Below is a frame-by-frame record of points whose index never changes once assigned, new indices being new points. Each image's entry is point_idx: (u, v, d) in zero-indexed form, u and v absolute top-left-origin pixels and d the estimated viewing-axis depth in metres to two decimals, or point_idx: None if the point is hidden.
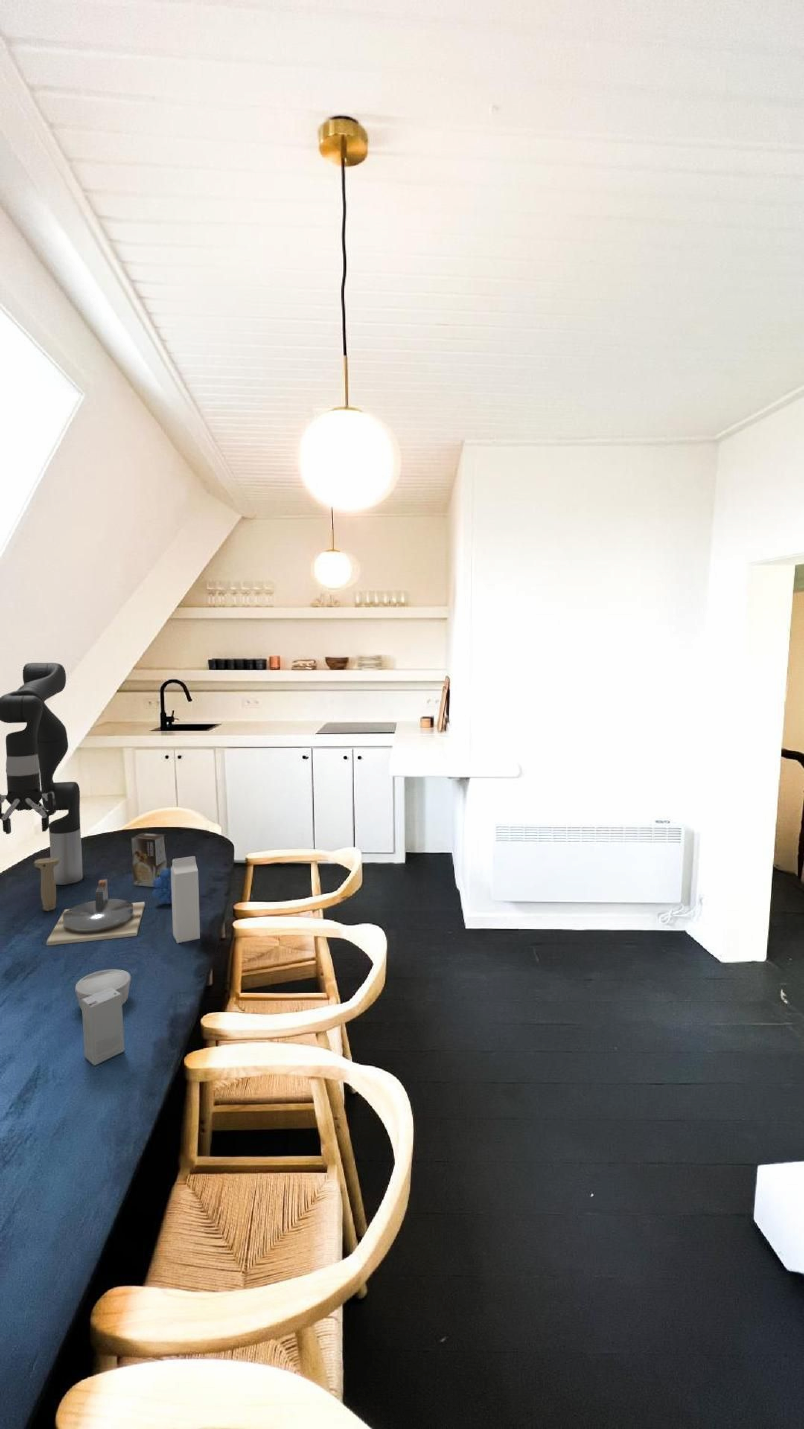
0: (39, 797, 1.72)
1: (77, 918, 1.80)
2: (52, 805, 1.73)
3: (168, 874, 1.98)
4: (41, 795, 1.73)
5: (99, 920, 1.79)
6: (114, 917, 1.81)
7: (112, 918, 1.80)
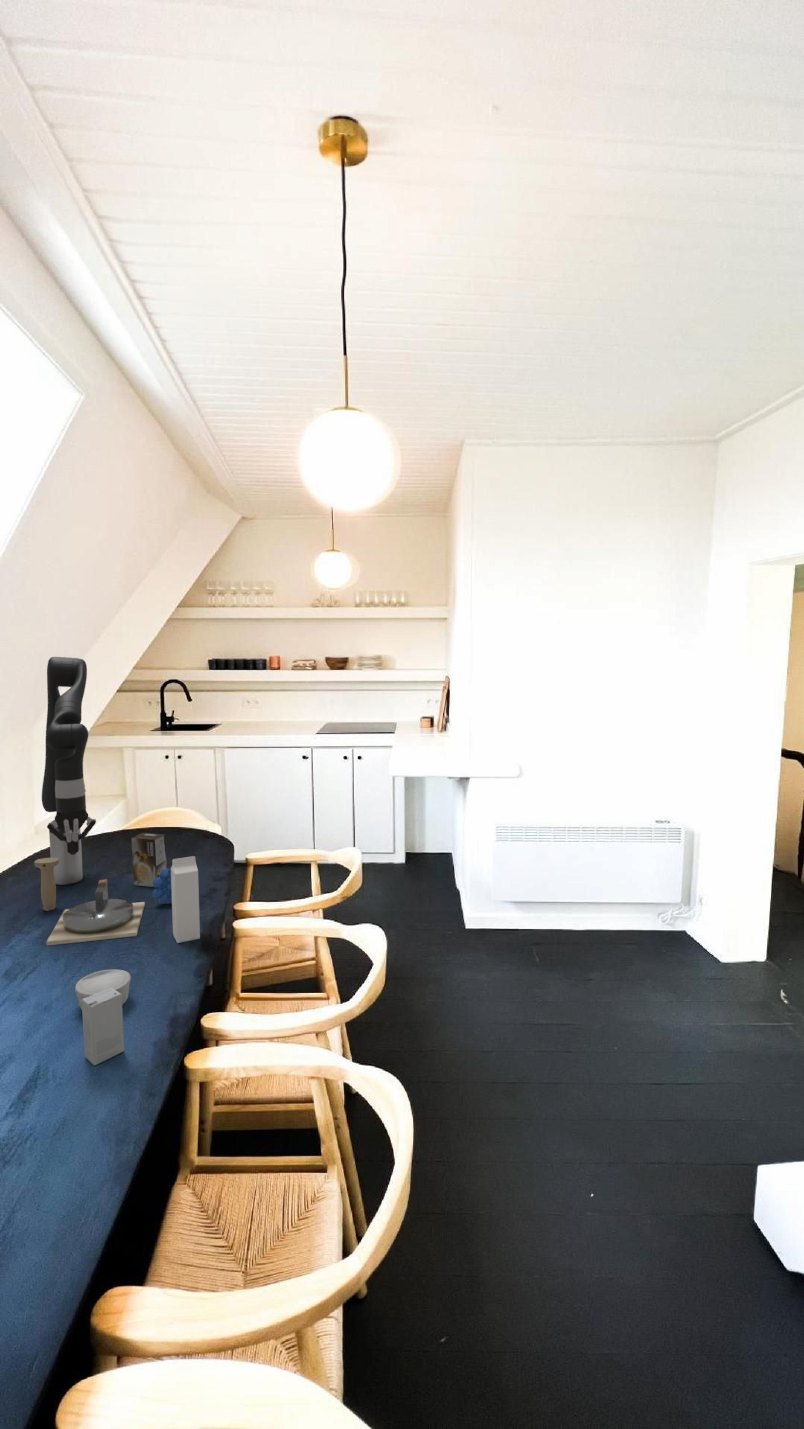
0: None
1: (77, 918, 1.80)
2: None
3: (168, 874, 1.98)
4: None
5: (99, 920, 1.79)
6: (114, 917, 1.81)
7: (112, 918, 1.80)
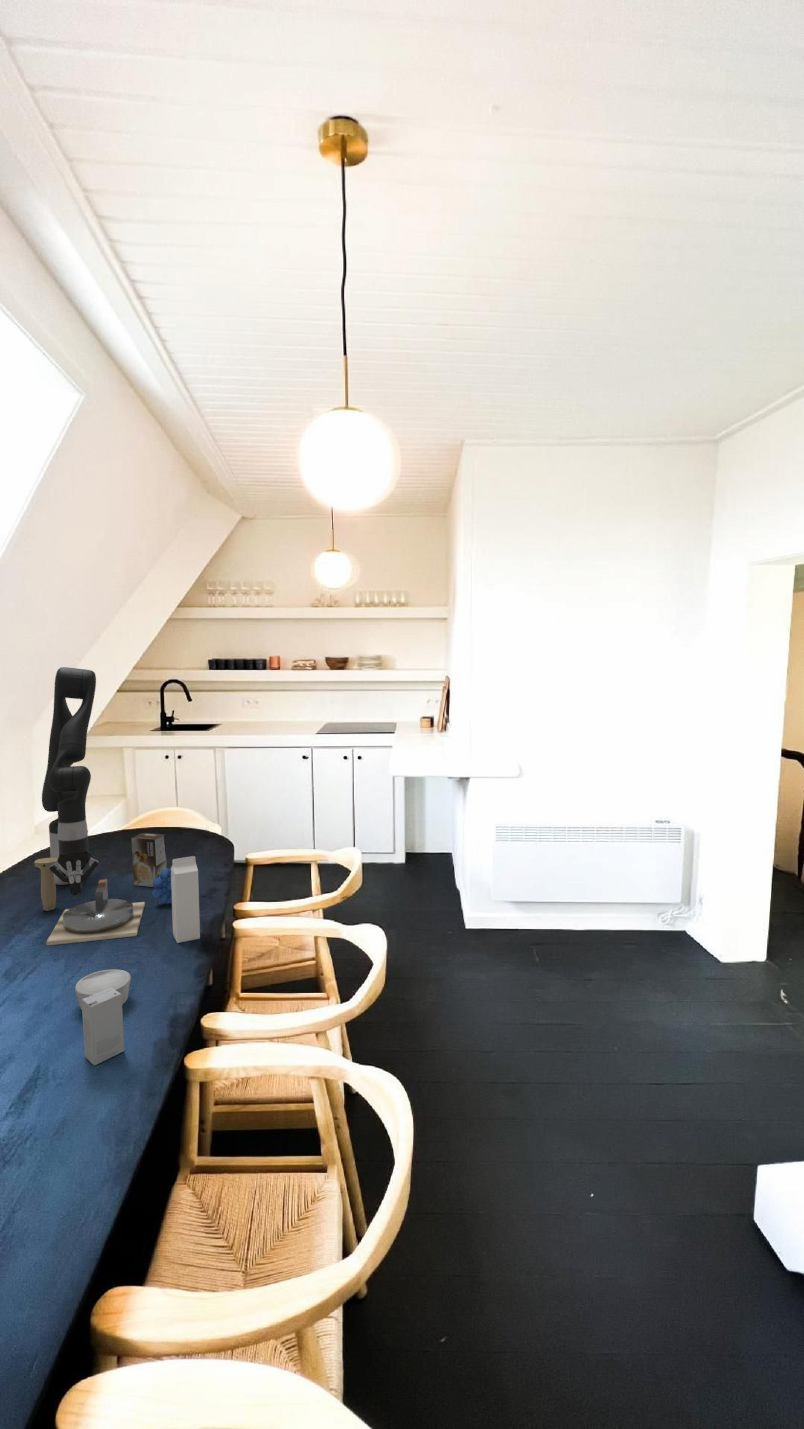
0: None
1: (77, 918, 1.80)
2: None
3: (168, 874, 1.98)
4: None
5: (99, 920, 1.79)
6: (114, 917, 1.81)
7: (112, 918, 1.80)
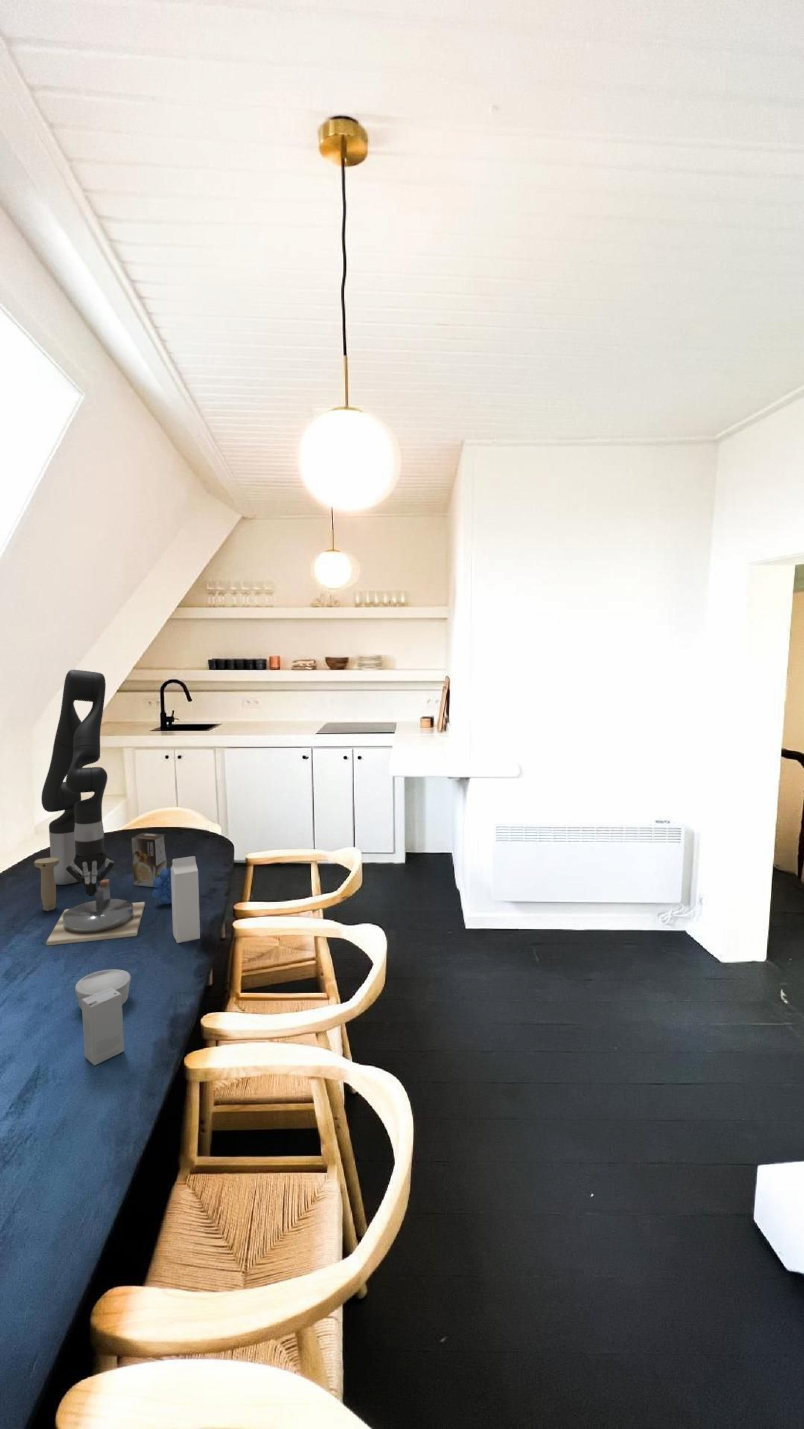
0: None
1: (76, 918, 1.80)
2: None
3: (168, 874, 1.98)
4: None
5: (98, 920, 1.79)
6: (112, 918, 1.80)
7: (110, 919, 1.80)
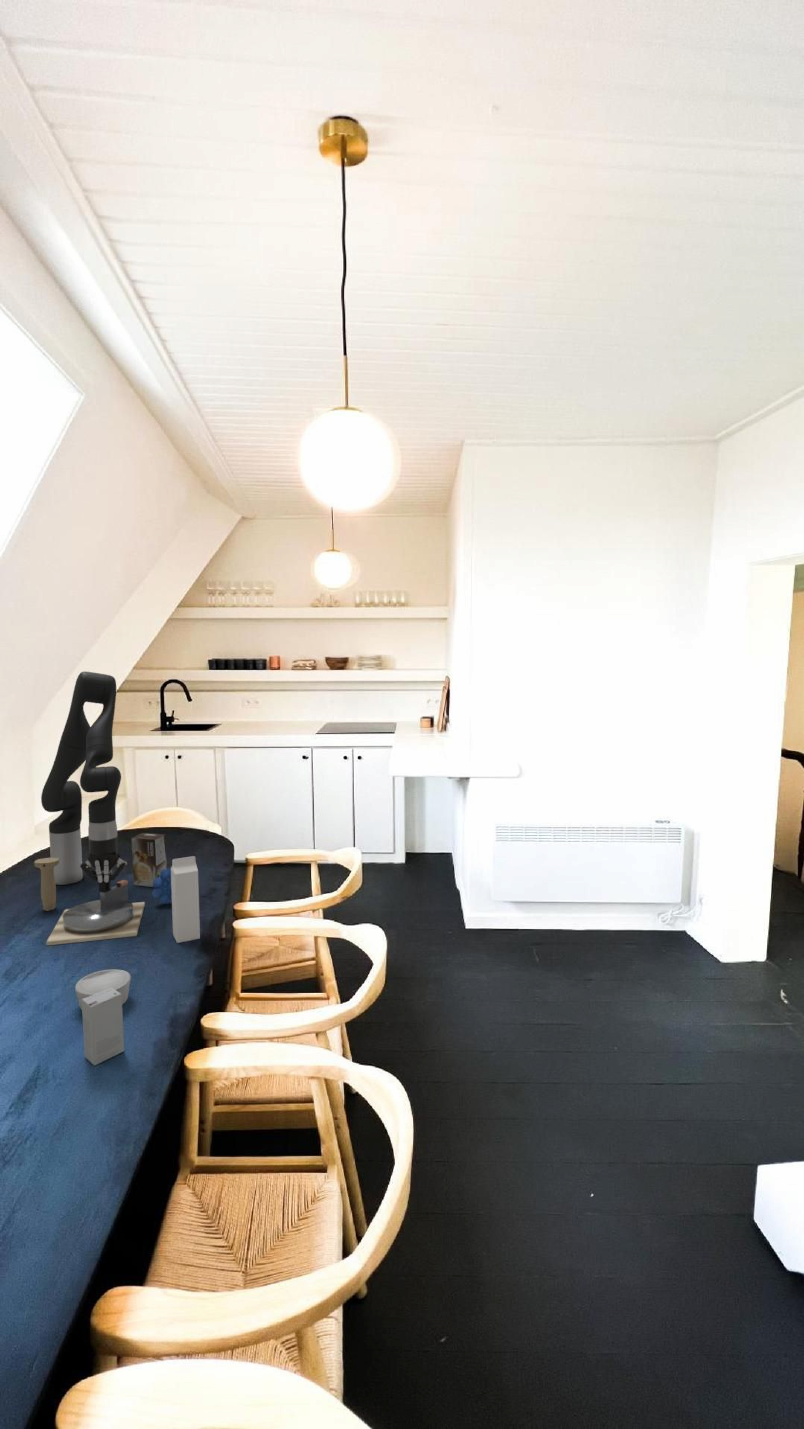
0: None
1: (75, 913, 1.84)
2: None
3: (168, 874, 1.98)
4: None
5: (80, 921, 1.78)
6: (93, 922, 1.78)
7: (90, 922, 1.77)
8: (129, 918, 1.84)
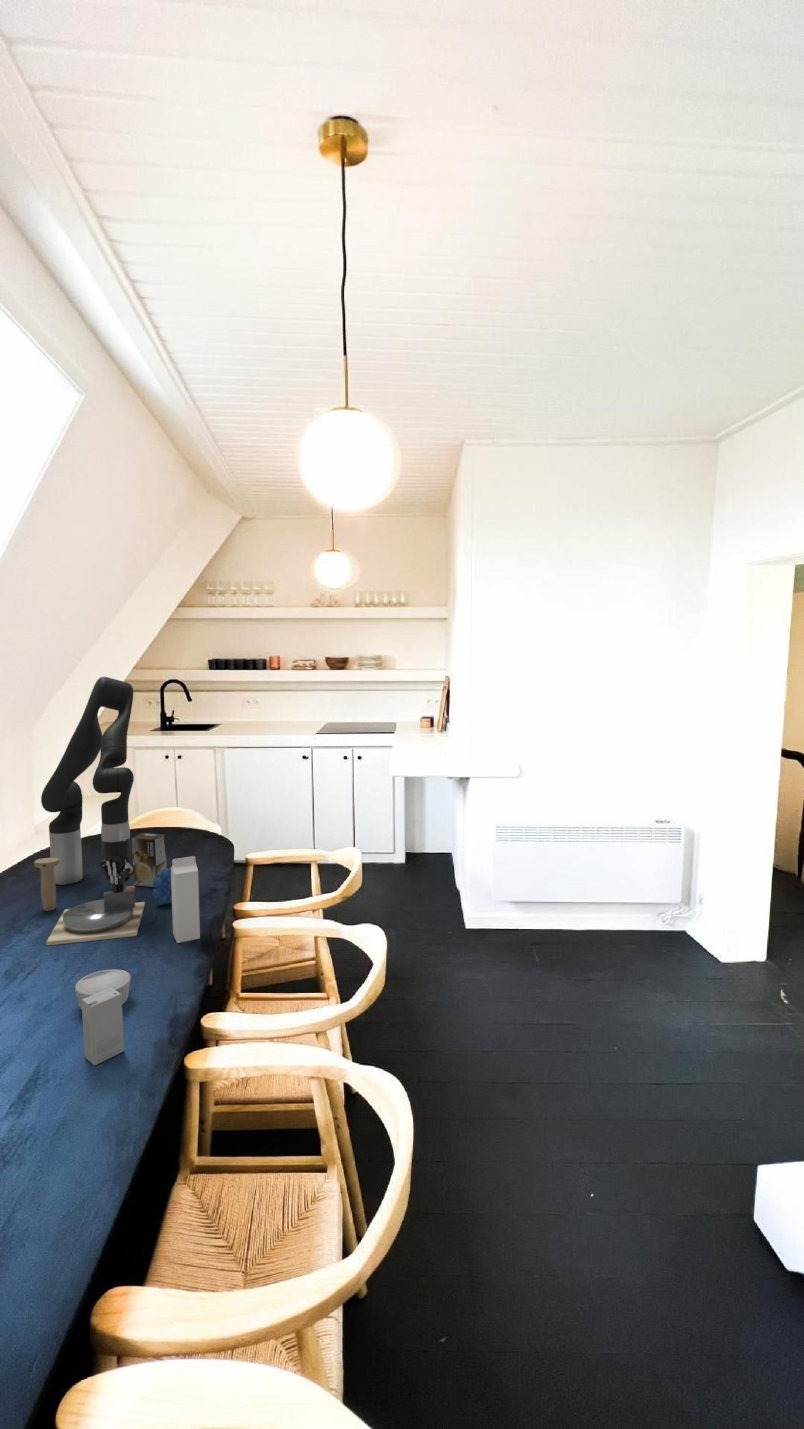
0: None
1: (84, 906, 1.88)
2: None
3: (168, 874, 1.98)
4: None
5: (71, 916, 1.81)
6: (74, 921, 1.78)
7: (71, 920, 1.78)
8: (110, 927, 1.79)
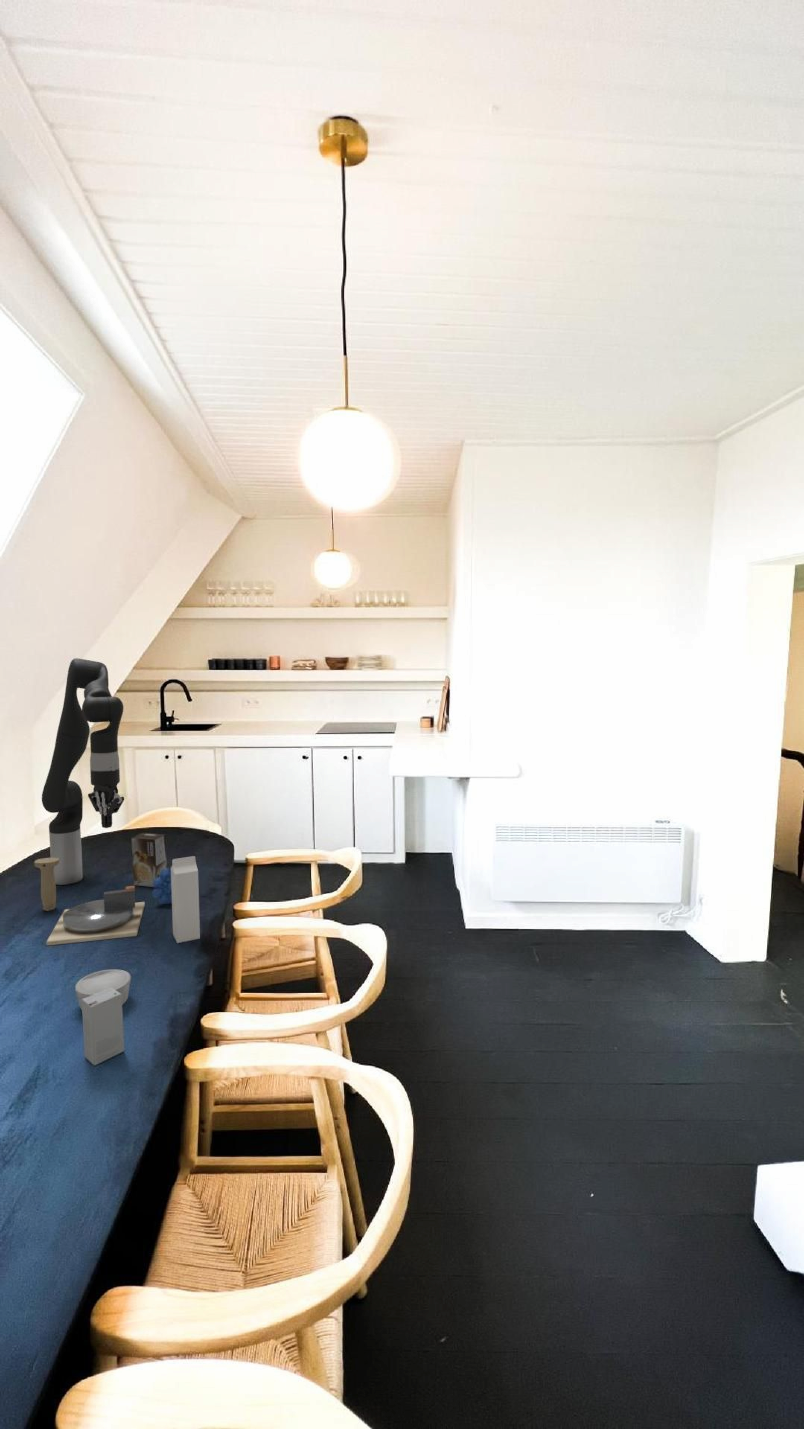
0: None
1: (84, 906, 1.88)
2: None
3: (168, 874, 1.98)
4: None
5: (71, 916, 1.81)
6: (74, 921, 1.78)
7: (71, 920, 1.78)
8: (110, 927, 1.79)
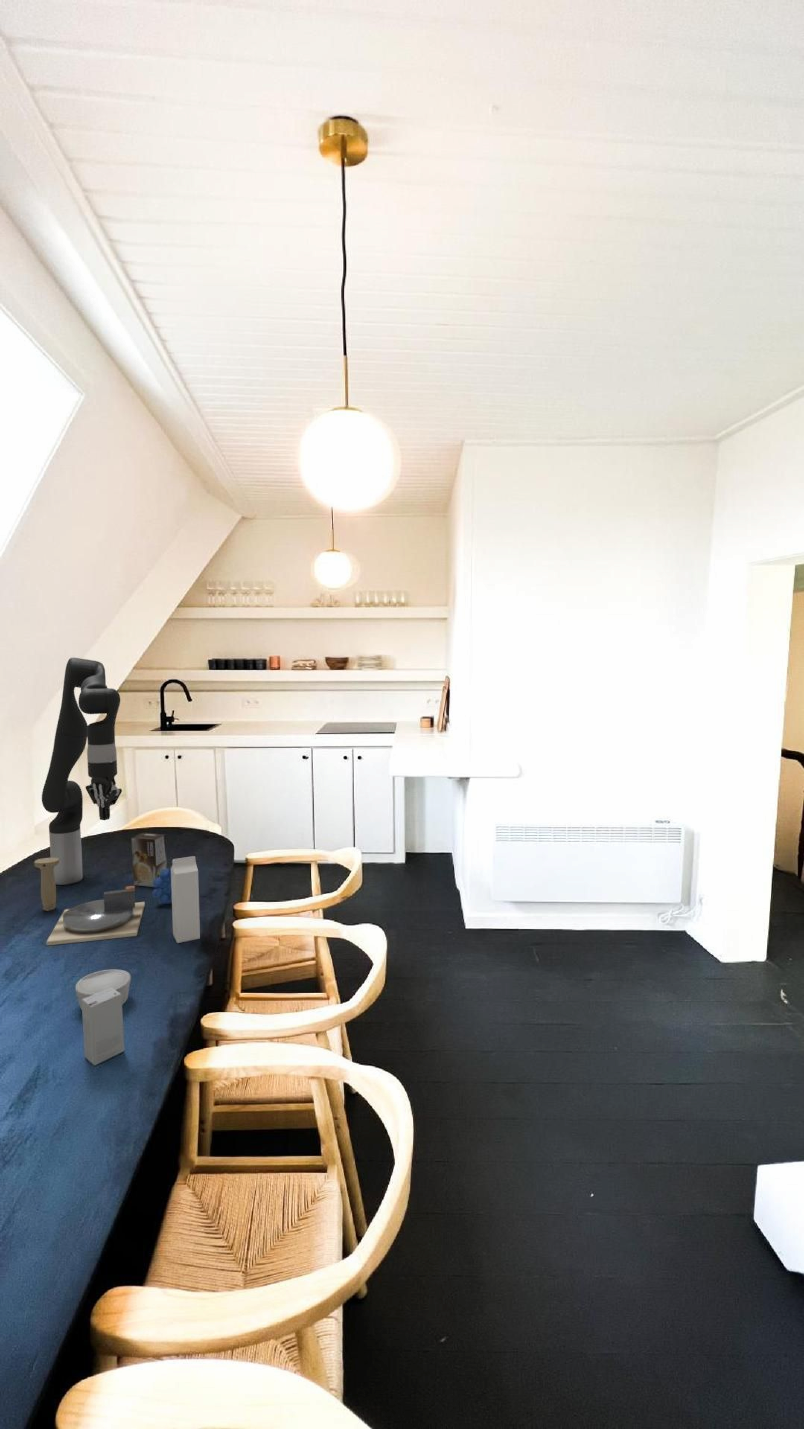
0: None
1: (84, 906, 1.88)
2: None
3: (168, 874, 1.98)
4: None
5: (71, 916, 1.81)
6: (74, 921, 1.78)
7: (71, 920, 1.78)
8: (110, 927, 1.79)
